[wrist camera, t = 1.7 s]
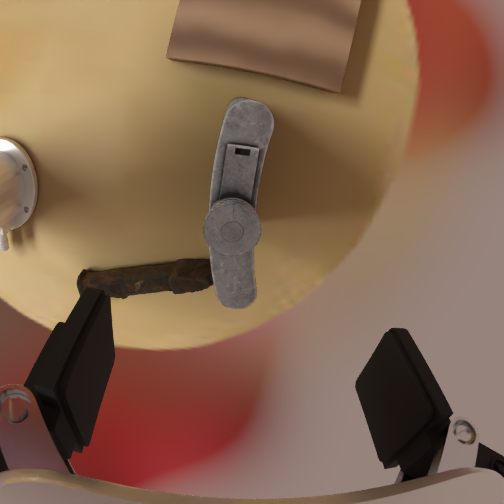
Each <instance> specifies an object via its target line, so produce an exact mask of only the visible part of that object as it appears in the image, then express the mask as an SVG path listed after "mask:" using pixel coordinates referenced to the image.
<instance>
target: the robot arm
mask: <svg viewBox="0 0 504 504" xmlns="http://www.w3.org/2000/svg"><path fill="white" fill-rule="evenodd" d="M37 196H38V182H37V176H36V172H35V169H34V165H33V163H32V161H31V159H30V157H29V155H28V154H27V152H26V151H25V149H24V148H23V147H22V146H21V145H20V144H18V143H17V142H15V141H14V140H12V139H9V138H4V137H0V248H1V250H2V251H6V250H8V249H9V243H8V238H7V233H8V230H12V229H16V228H18V227H20V226H21V225H23V224H24V223H25V222H26V221H27V220H28V219H29V218H30V216H31V215H32V213H33V211H34V209H35V206H36V202H37ZM114 360H115V349H114V340H113V329H112V316H111V300H110V296H109V295H105V291H104V290H103V289H98V288H93V287H86V288H85V290H84V292H83V293H82V295H81V297H80V298H79V300H78V302H77V303H76V305H75V307H74V308H73V310H72V312H71V314H70V315H69V317H68V319H67V320H66V322H65V323H63V322H59V323H58V324H57V325H56V326H55V328H54V330H53V331H52V334H51V335H50V337H49V339H48V340H47V342H46V344H45V346H44V348H43V349H42V351H41V353H40V355H39V357H38V359H37V361H36V363H35V364H34V367H33V368H32V370H31V372H30V374H29V376H28V378H27V380H26V382H25V384H24V386H22V385H17V384H10V385H6V386H3V387H1V388H0V504H504V457H503V456H502V455H500V454H499V453H496V452H495V451H493V450H491V449H490V448H488V447H486V446H485V445H483V444H481V443H479V433H478V429H477V428H476V426H475V425H474V424H473V423H472V421H470V420H469V419H467V418H465V417H455V418H454V419H452V421H450V419H449V417H450V416H451V415H452V414H453V412H452V410H451V408H450V406H449V404H448V402H447V400H446V398H445V396H444V394H443V392H442V390H441V388H440V387H439V385H438V383H437V381H436V379H435V377H434V375H433V374H432V372H431V370H430V368H429V366H428V365H427V363H426V361H425V359H424V358H423V356H422V354H421V352H420V351H419V349H418V347H417V345H416V344H415V342H414V340H413V339H412V337H411V335H410V334H409V332H408V331H407V330H406V329H403V328H391V329H390V330H389V331H388V332H386V333H385V334H384V336H383V337H382V339H381V341H380V343H379V344H378V346H377V348H376V349H375V351H374V353H373V354H372V356H371V358H370V359H369V361H368V363H367V364H366V366H365V367H364V369H363V371H362V372H361V374H360V375H359V377H358V379H357V381H356V386H355V387H356V391H357V394H358V397H359V400H360V402H361V406H362V409H363V411H364V414H365V418H366V421H367V424H368V427H369V430H370V433H371V436H372V439H373V442H374V445H375V449H376V452H377V455H378V458H379V460H380V461H381V462H383V465H384V469H387V468H393V467H397V466H398V465H400V468H401V469H400V472H399V474H398V476H397V478H396V481H395V483H394V484H392V485H388V486H383V487H378V488H372V489H367V490H361V491H355V492H349V493H341V494H333V495H324V496H314V497H301V498H284V499H230V498H212V497H200V496H188V495H181V494H173V493H165V492H159V491H152V490H146V489H140V488H135V487H129V486H124V485H120V484H114V483H111V482H106V481H102V480H97V479H92V478H88V477H84V476H79V475H76V474H75V472H74V470H73V468H72V466H71V464H70V463H69V460H68V459H70V458H71V456H72V452H73V451H76V452H79V453H82V450H83V446H89V444H90V441H91V437H92V433H93V430H94V426H95V422H96V419H97V416H98V412H99V409H100V406H101V402H102V399H103V396H104V392H105V389H106V386H107V383H108V380H109V377H110V374H111V370H112V368H113V365H114Z"/></svg>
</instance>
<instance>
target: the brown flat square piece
mask: <svg viewBox="0 0 504 504" xmlns="http://www.w3.org/2000/svg"><path fill="white" fill-rule="evenodd" d="M360 4H361V0H180V2H179V6H178V9H177V13H176V17H175V21H174V25H173V29H172V33H171V37H170V42H169V46H168V51H167V55H166V58H168V59H170V60H172V61H182V62H190V63H198V64H205V65H212V66H219V67H225V68H231V69H236V70H242V71H247V72H252V73H257V74H262V75H266V76H271V77H275V78H279V79H284V80H288V81H292V82H296V83H300V84H303V85H307V86H311V87H314V88H318V89H321V90H325V91H328V92H333V93H340V90H341V86H342V82H343V78H344V74H345V70H346V66H347V62H348V57H349V53H350V49H351V44H352V40H353V36H354V31H355V27H356V22H357V18H358V13H359V8H360Z"/></svg>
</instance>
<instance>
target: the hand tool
mask: <svg viewBox="0 0 504 504" xmlns="http://www.w3.org/2000/svg"><path fill="white" fill-rule="evenodd" d="M213 284H214V282H213V277H212V271H211V263H210V260H203V259H197V260H191V259H180V260H177V262H175V263H172V264H165V265H153V266H139V267H135V268H125V269H112V270H108V271H101V272H92V273H90V272H89V271H88V270H85V269H83V270H82V272H81V273H80V275H79V276H78V279H77V287H78V291H79V294H80V297H81V295H82V293H83V292H84V290H85V288H86V287H93V288H98V289H103V290H104V291H105V295H109V296H110V297H115V298H122V299H125V298H127V297H128V296H129V295H137V294H147V293H155V292H161V291H173V293H174V294H182V293H186V292H195V291H201V290H203V289H207V288H208V287H210V286H211V285H213Z"/></svg>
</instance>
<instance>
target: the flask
mask: <svg viewBox="0 0 504 504" xmlns="http://www.w3.org/2000/svg"><path fill="white" fill-rule="evenodd" d="M273 129H274V119H273V115H272V113H271V112H270V110H269V109H268V108H267V107H266V106H265V105H264V104H262V103H260V102H258V101H255V100H252V99H248V98H244V97H238V98H235V99H233V100H232V101H231V102H230V103H229V104H228V107H227V110H226V114H225V117H224V121H223V124H222V128H221V132H220V136H219V140H218V144H217V148H216V153H215V159H214V165H213V171H212V179H211V187H210V199H209V212H208V214H207V215H206V218H205V222H204V227H203V229H204V231H203V233H204V238H205V239H206V243H208V245H209V252H210V263H211V271H212V277H213V282H214V287H215V292H216V296H217V299H218V301H219V302H220V303H221V304H222V305H223V306H225V307H227V308H230V309H243V308H246V307H248V306H249V305H251V304H252V303H253V302H254V300H255V299H256V296H257V288H256V281H255V273H254V246H255V245H257V242H258V241H259V238H260V236H261V224H260V220H259V217H258V215H257V212H256V204H257V197H258V190H259V184H260V179H261V173H262V169H263V164H264V160H265V156H266V153H267V149H268V145H269V142H270V139H271V136H272V133H273Z"/></svg>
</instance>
